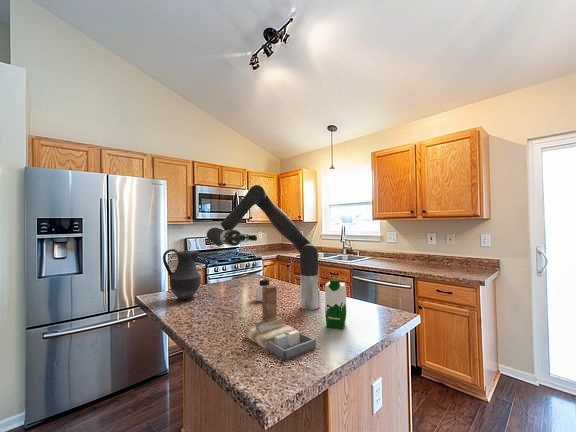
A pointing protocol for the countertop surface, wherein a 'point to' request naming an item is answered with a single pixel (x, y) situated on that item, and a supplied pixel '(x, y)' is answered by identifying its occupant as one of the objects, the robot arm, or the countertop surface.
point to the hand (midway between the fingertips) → (247, 238)
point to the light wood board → (267, 334)
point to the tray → (292, 347)
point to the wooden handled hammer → (269, 310)
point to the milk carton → (335, 304)
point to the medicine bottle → (259, 290)
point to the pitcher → (184, 275)
